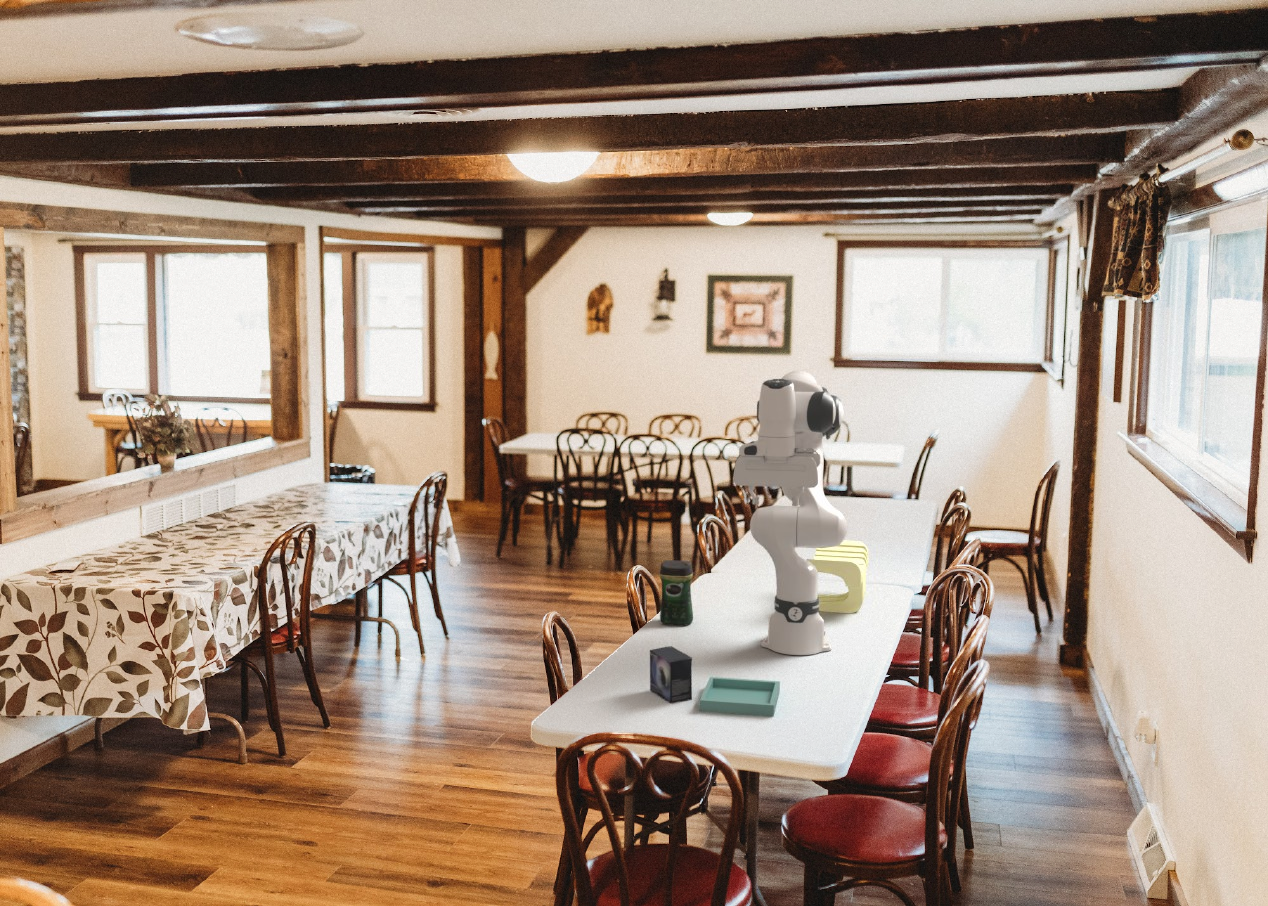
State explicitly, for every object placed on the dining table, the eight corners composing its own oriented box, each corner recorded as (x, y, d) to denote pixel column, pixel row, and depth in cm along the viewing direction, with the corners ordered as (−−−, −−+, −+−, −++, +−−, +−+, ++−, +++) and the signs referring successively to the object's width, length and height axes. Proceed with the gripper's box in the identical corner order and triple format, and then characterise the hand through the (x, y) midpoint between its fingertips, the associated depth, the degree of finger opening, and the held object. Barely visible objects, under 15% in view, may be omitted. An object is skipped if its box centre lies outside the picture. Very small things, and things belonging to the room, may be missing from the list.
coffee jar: (695, 620, 345) (695, 558, 342) (689, 627, 337) (690, 564, 335) (663, 618, 347) (663, 557, 345) (657, 625, 340) (657, 562, 337)
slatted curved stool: (859, 621, 344) (861, 562, 342) (805, 617, 348) (806, 558, 346) (867, 596, 373) (868, 541, 370) (816, 593, 377) (818, 538, 374)
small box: (647, 690, 283) (648, 648, 282) (671, 686, 286) (671, 645, 285) (669, 704, 274) (669, 660, 273) (693, 699, 277) (693, 656, 276)
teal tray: (709, 687, 286) (709, 676, 285) (779, 691, 282) (779, 681, 282) (699, 711, 269) (699, 700, 269) (773, 716, 266) (773, 705, 266)
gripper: (821, 447, 280) (819, 504, 282) (735, 445, 284) (735, 501, 286) (820, 450, 274) (818, 508, 276) (733, 448, 278) (732, 505, 280)
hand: (775, 504), depth 281 cm, fingers open, 8 cm apart
